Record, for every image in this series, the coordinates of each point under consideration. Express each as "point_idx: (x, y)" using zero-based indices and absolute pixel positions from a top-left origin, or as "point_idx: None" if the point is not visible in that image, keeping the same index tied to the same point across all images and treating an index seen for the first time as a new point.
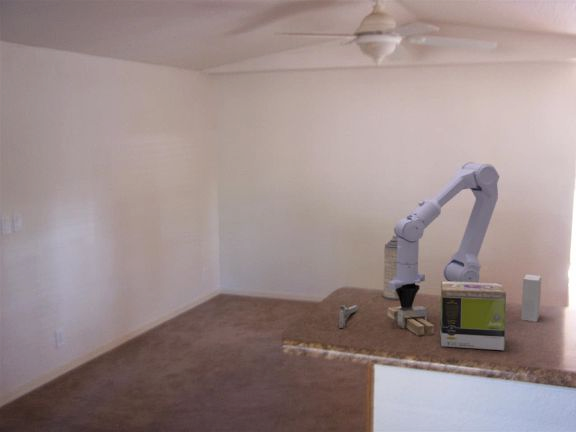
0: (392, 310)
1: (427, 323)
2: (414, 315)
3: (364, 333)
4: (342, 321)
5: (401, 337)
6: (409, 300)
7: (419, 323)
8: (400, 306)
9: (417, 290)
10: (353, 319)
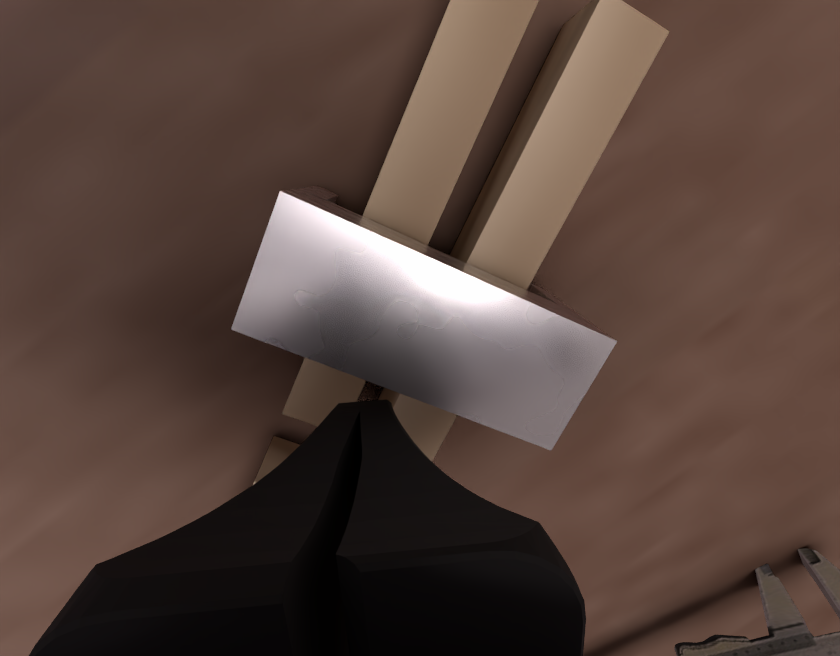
0: None
1: (471, 41)
2: (455, 260)
3: (811, 403)
4: None
5: (733, 150)
6: (407, 454)
7: (555, 101)
8: None
9: (179, 544)
10: (595, 627)
